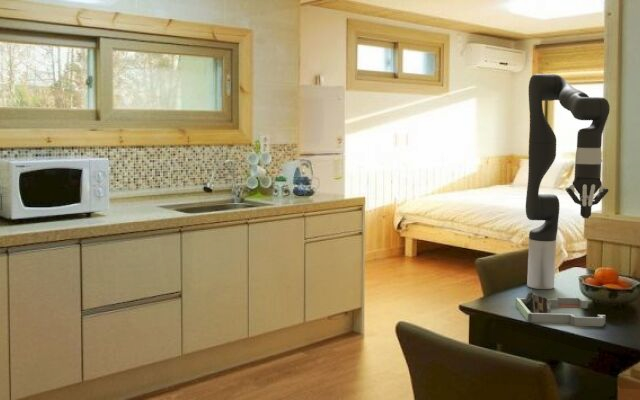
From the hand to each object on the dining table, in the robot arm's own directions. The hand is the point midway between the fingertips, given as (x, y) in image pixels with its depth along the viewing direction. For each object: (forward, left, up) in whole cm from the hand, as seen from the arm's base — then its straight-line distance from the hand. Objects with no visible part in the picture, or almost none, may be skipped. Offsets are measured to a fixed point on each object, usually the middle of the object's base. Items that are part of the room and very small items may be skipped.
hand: (585, 217), depth 211 cm
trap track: (+8, -9, -29) cm, 31 cm away
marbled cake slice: (+9, -15, -29) cm, 34 cm away
